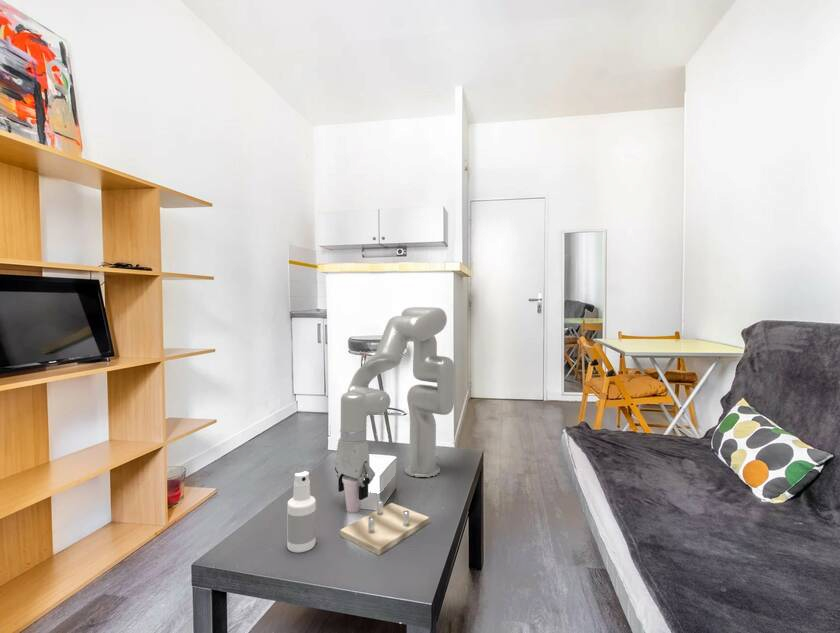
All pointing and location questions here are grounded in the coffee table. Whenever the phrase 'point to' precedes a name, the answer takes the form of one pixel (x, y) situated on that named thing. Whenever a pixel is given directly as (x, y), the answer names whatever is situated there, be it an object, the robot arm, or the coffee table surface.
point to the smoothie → (351, 493)
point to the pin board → (384, 527)
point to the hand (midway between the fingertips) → (353, 494)
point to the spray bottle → (301, 516)
